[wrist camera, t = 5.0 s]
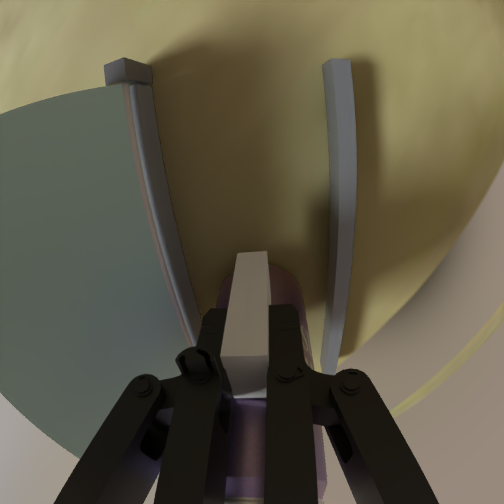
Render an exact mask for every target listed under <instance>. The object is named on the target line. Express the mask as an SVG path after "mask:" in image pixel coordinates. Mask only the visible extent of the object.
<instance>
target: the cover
mask: <svg viewBox="0 0 504 504" xmlns="http://www.w3.org/2000/svg"><path fill="white" fill-rule="evenodd" d="M189 347H193V344H192V341H191V338H190V336H189V333H188V330H187V327H186V325H185V322H184V319H183V316H182V313H181V310H180V307H179V304H178V301H177V298H176V295H175V292H174V289H173V286H172V282H171V279H170V276H169V273H168V269H167V266H166V263H165V259H164V256H163V252H162V249H161V245H160V241H159V238H158V234H157V230H156V226H155V222H154V218H153V214H152V210H151V206H150V202H149V197H148V193H147V189H146V184H145V179H144V175H143V170H142V165H141V159H140V154H139V149H138V143H137V137H136V131H135V125H134V119H133V112H132V105H131V97H130V89H129V84H119V85H112V86H105V87H99V88H93V89H88V90H83V91H78V92H73V93H68V94H64V95H60V96H56V97H52V98H48V99H45V100H41V101H38V102H35V103H31V104H28V105H25V106H22V107H19V108H16V109H14V110H11V111H8V112H5V113H3V114H0V392H1V394H2V395H3V396H4V397H5V398H6V399H7V400H8V401H9V402H10V403H11V404H12V405H13V406H14V407H15V408H16V409H17V410H18V411H19V412H21V413H22V414H23V415H24V416H25V417H26V418H27V419H28V420H29V421H31V422H32V423H33V424H34V425H35V426H36V427H37V428H39V429H40V430H41V431H42V432H43V433H45V434H46V435H47V436H49V437H50V438H51V439H52V440H54V441H55V442H56V443H58V444H59V445H60V446H62V447H63V448H65V449H66V450H67V451H69V452H70V453H72V454H73V455H75V456H76V457H78V458H79V459H81V457H82V455H83V454H84V452H85V450H86V449H87V447H88V446H89V444H90V443H91V441H92V439H93V438H94V436H95V435H96V433H97V431H98V430H99V428H100V427H101V425H102V424H103V422H104V421H105V419H106V417H107V416H108V414H109V413H110V411H111V410H112V408H113V407H114V405H115V404H116V402H117V401H118V399H119V398H120V396H121V395H122V393H123V392H124V390H125V389H126V387H127V386H128V384H129V383H130V382H131V380H132V379H133V378H135V377H137V376H139V375H142V374H152V375H154V376H155V377H157V378H158V380H164V379H168V378H173V377H176V376H179V375H181V372H180V370H179V368H178V366H177V364H176V362H175V359H176V358H177V356H178V354H179V353H181V352H182V351H183V350H185V349H187V348H189Z"/></svg>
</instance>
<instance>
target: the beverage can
mask: <svg viewBox="0 0 504 504" xmlns="http://www.w3.org/2000/svg"><path fill="white" fill-rule="evenodd" d="M268 268H269V279H270V290H271V305H277V304H290V303H292V304H293V305H294V306H295V308H296V309H297V310H298V313H299V320H300V328H301V335H302V343H303V351H304V358H305V362H306V363H307V365H308V366H309V367H310V368H311V369H313V370H314V364H313V358H312V351H311V345H310V338H309V332H308V326H307V320H306V314H305V308H304V302H303V297H302V291H301V288H300V286H299V284H298V282H297V281H296V279H295V278H294V277H293V276H292V275H291V274H289V273H288V272H286V271H285V270H283V269H281V268H279V267H276V266H273V265H268ZM233 276H234V272H233V273H231V274H230V275H229V276H228V277H227V278H226V279H225V280H224V282H223V283H222V285H221V287H220V291H219V295H218V300H217V305H216V308H228V305H229V299H230V293H231V288H232V282H233ZM231 404H232V408H233V415H232V426H231V437H230V447H229V458H228V469H227V480H226V491H225V502H224V504H264V478H265V442H266V398H234V397H233V394H232V397H231ZM313 430H314V442H315V455H316V470H317V487H318V504H324V502H322V499H323V495H324V492H325V489H326V486H327V474H326V463H325V453H324V443H323V433H322V426H321V425H316V424H313Z"/></svg>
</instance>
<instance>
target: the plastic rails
mask: <svg viewBox="0 0 504 504" xmlns="http://www.w3.org/2000/svg"><path fill="white" fill-rule="evenodd" d="M322 68H323V77H324V87H325V97H326V109H327V123H328V141H329V166H330V240H329V266H328V284H327V299H326V311H325V323H324V333H323V342H322V351H321V360H320V363H321V369H322V373H323V374H329V375H335V372H336V367H337V362H338V357H339V352H340V346H341V341H342V335H343V329H344V323H345V316H346V310H347V302H348V295H349V287H350V278H351V269H352V259H353V247H354V233H355V216H356V187H357V150H356V122H355V105H354V92H353V82H352V72H351V64H350V60H347V59H330V60H329V61H327V62H326V63H325V64H323V65H322ZM104 72H105V83H106V86H112V85H119V84H129V89H130V97H131V105H132V112H133V119H134V125H135V131H136V137H137V143H138V149H139V154H140V159H141V165H142V170H143V175H144V179H145V184H146V189H147V193H148V197H149V202H150V206H151V210H152V214H153V218H154V222H155V226H156V230H157V234H158V238H159V241H160V245H161V249H162V252H163V256H164V259H165V263H166V266H167V269H168V273H169V276H170V279H171V282H172V286H173V289H174V292H175V295H176V298H177V301H178V304H179V307H180V310H181V313H182V316H183V319H184V322H185V325H186V327H187V330H188V333H189V336H190V338H191V341H192V344H193V347H194V346H196V344H197V341H198V337H199V333H200V329H201V325H202V320H201V317H200V314H199V310H198V307H197V303H196V300H195V296H194V293H193V289H192V285H191V282H190V278H189V274H188V270H187V267H186V263H185V259H184V255H183V251H182V247H181V243H180V239H179V234H178V230H177V226H176V221H175V217H174V212H173V208H172V203H171V198H170V194H169V189H168V184H167V179H166V173H165V168H164V163H163V157H162V151H161V146H160V140H159V133H158V127H157V120H156V114H155V106H154V99H153V91H152V87H151V86H146V85H149V84H153V78H152V69H151V66H149V65H146V64H143V63H140V62H137V61H134V60H131V59H128V58H121V59H118V60H116V61H113V62H111V63H108V64H106V65H104Z"/></svg>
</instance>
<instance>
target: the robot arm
mask: <svg viewBox="0 0 504 504" xmlns="http://www.w3.org/2000/svg"><path fill="white" fill-rule="evenodd" d="M175 362H176V364H177V366H178V368H179V370H180V372H181V375H179V376H176V377H173V378H168V379H164V380H158V378H157V377H155V376H154V375H152V374H142V375H139V376H137V377H135V378H133V379H132V380H131V382H130V383H129V384H128V386H127V387H126V389H125V390H124V392H123V393H122V395H121V396H120V398H119V399H118V401H117V402H116V404H115V405H114V407H113V408H112V410H111V411H110V413H109V414H108V416H107V417H106V419H105V421H104V422H103V424H102V425H101V427H100V428H99V430H98V431H97V433H96V435H95V436H94V438H93V439H92V441H91V443H90V444H89V446H88V447H87V449H86V450H85V452H84V454H83V455H82V457H81V459H80V460H79V462H78V463H77V465H76V467H75V468H74V470H73V472H72V473H71V475H70V477H69V478H68V480H67V482H66V483H65V485H64V487H63V488H62V490H61V492H60V493H59V495H58V497H57V499H56V501H55V502H54V504H143V503H144V501H145V499H146V497H147V495H148V493H149V491H150V489H151V487H152V486H153V484H154V482H155V479H156V478H157V476H158V474H159V478H158V483H157V489H156V493H155V499H154V504H224V502H225V491H226V480H227V469H228V458H229V447H230V437H231V426H232V415H233V408H232V404H231V397H232V394H233V397H234V398H266V442H265V478H264V504H318V487H317V470H316V455H315V442H314V430H313V424H316V425H321V426H324V427H325V429H326V432H327V434H328V436H329V439H330V441H331V444H332V446H333V448H334V451H335V453H336V456H337V458H338V460H339V463H340V465H341V467H342V470H343V472H344V475H345V477H346V479H347V482H348V484H349V486H350V489H351V491H352V494H353V496H354V498H355V501H356V503H357V504H439V503H438V501H437V499H436V497H435V495H434V493H433V491H432V489H431V487H430V485H429V483H428V481H427V479H426V477H425V475H424V473H423V472H422V470H421V468H420V466H419V464H418V462H417V460H416V458H415V457H414V455H413V453H412V451H411V449H410V448H409V446H408V444H407V442H406V440H405V439H404V437H403V435H402V433H401V431H400V430H399V428H398V426H397V424H396V423H395V421H394V419H393V417H392V416H391V414H390V412H389V410H388V409H387V407H386V405H385V404H384V402H383V400H382V398H381V397H380V395H379V393H378V392H377V390H376V388H375V387H374V385H373V383H372V382H371V380H370V378H369V377H368V376H367V375H366V374H365V373H364V372H362V371H360V370H357V369H345V370H342V371H340V372H338V373H337V374H336V375H329V374H323V373H319V372H316V371H314V370H313V369H311V368H310V367H309V366H308V365H307V363H306V362H305V358H304V351H303V343H302V335H301V328H300V320H299V313H298V310H297V309H296V308H295V306H294V305H293V304H292V303H290V304H277V305H271V290H270V279H269V268H268V257H267V251H258V252H245V253H237V259H236V264H235V270H234V276H233V282H232V288H231V293H230V299H229V305H228V308H216V309H210V310H209V311H208V312H207V313H206V314H205V316H204V317H203V321H202V325H201V329H200V333H199V337H198V341H197V344H196V346H194V347H189V348H187V349H185V350H183V351H182V352H181V353H179V354H178V356H177V358H176V359H175ZM159 472H160V473H159Z"/></svg>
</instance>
